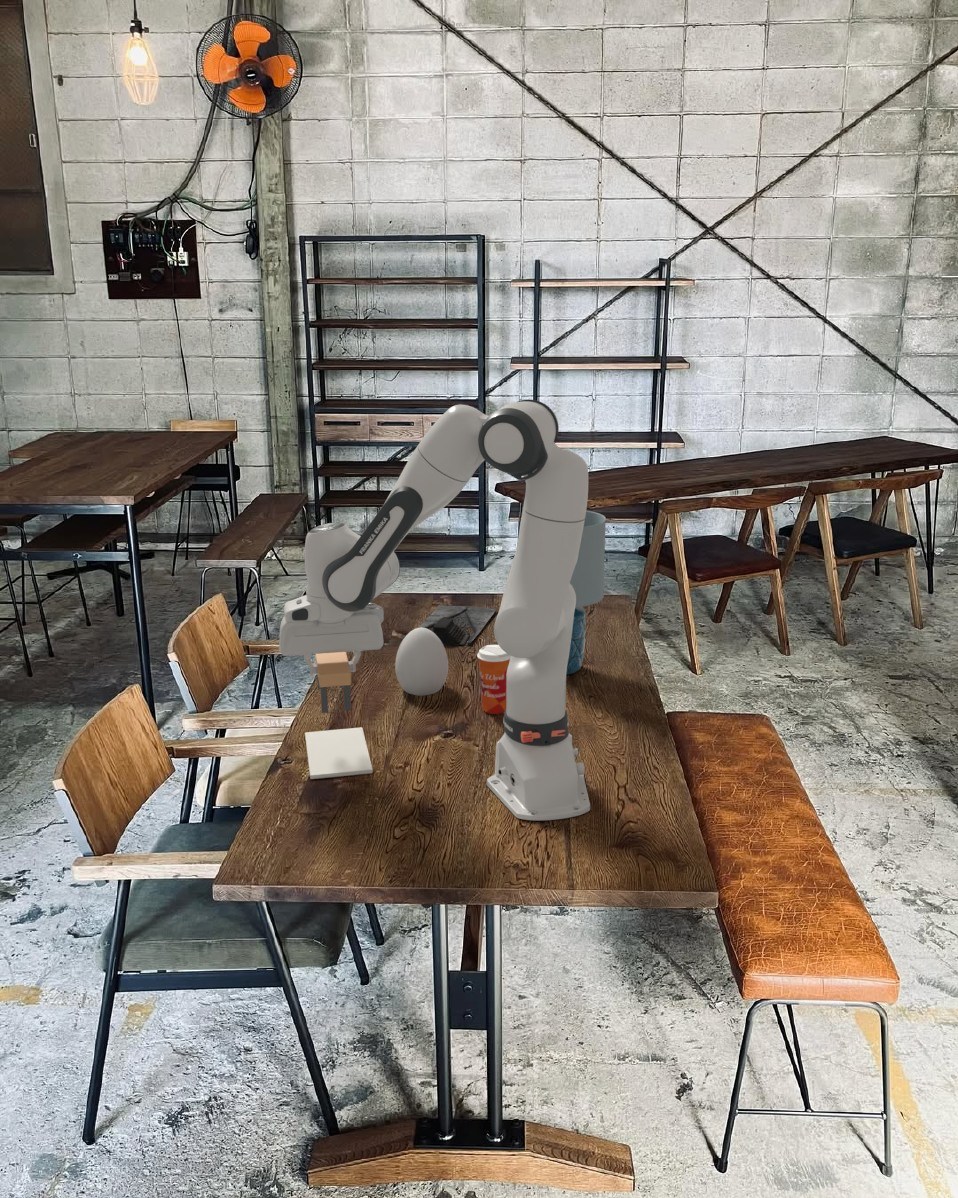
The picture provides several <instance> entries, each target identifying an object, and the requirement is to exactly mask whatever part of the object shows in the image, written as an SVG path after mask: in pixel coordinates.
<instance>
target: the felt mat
mask: <svg viewBox="0 0 958 1198" xmlns="http://www.w3.org/2000/svg"><path fill="white" fill-rule="evenodd" d="M304 737H305V745H306V746H305V747H306V753H307V762H308V770H309V777H310V778H309V779H310V780H315V779H317V780H318V779H325V778H326V779H327V778H338V777H344V776H345V777H346V776H355V775H357V776H358V775H367V774H368V775H369V774H373V772H374V769H373V766H372V762H371V757H370V753H369V749H368V745H367V742H366V738H365V733H364V729H363V727H362V726H361V727H353V728H351V727H350V728H340V729H329V730H319V731H318V730H317V731H316V730H315V731H308V732H304Z"/></svg>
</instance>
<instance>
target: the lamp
mask: <svg viewBox="0 0 958 1198" xmlns="http://www.w3.org/2000/svg"><path fill="white" fill-rule="evenodd" d="M606 519H607V518H606V516H605V515H603V514H601V513H599V512H595V511H591V510H586V515H585V521H584V527H583V532H582V538H581V543H580V549H579V554H578V560H577V563H576V566H575V568H574V571H573V574H572V577H571V581H570V584H571V585H572V587H573V589H574V591H575V594H576V606H575V611H574V618H573V628H572V637H571V645H570V652H569V658H568V664H567V672H566V676H567V675H572V674H575V673H577V672H579V670H580V669H581V668H582V666H583V662H584V654H585V644H586V610H585V608H583V607H587V606H592V605H595V604H597V603H599V602H601V601H602V600H603V599H604V588H605V587H604V584H605V583H604V582H605V556H606V555H605V553H606V525H607V524H606Z"/></svg>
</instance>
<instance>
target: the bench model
mask: <svg viewBox="0 0 958 1198" xmlns="http://www.w3.org/2000/svg"><path fill="white" fill-rule="evenodd" d="M314 657H315V659H314V661H315V664H317V668H318V670H317V671H318V674H316V676H317V690H320V702H321V703H320V705H321V707H320V708H321V714H325V713H326V714H327V713H329V702H328V701H329V700H328V698H329V697H328V688H329V687H330V688H331V687H339V688H340V689H341V688H343V707H344V712H349V711H350V712H351V711H352V702H351V701H352V700H351V699H352V697H351V686H352V672H351V671H350V667H349V663H348V661H349V659H348V655H347V652H335V653H321V654H314Z"/></svg>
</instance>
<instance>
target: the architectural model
mask: <svg viewBox="0 0 958 1198" xmlns="http://www.w3.org/2000/svg"><path fill="white" fill-rule="evenodd" d="M496 611H497V608H492V607H491V608H490V607H481V606H480V607H478V606H463V605H462V606H460V605H442V604H438V606H437V607H436V608H435V609H434V610H433V611H432V613H430V615H429V616H428V617H427V618H426V619H425V620H424V621H423V623H421V624H420V625H419V626H418V628H427V629H429V630H431V631H432V632H433V633H435V634H436V635H437V637H438V638H439V639H440V640H441V642H442V644H443V645H448V646H460V645H461V646H463V647H471V643H472V642H473V641H474V639H476V637H477V636H478V635H479V634H480V633H481V631H482V630H483V629H484V627H486V624H487V623H488V622H489V621H490V620H491V617H492V616H493V615H494V614H495V612H496ZM465 629H466V630H465ZM469 631H470V632H472V633H471V635H470V632H469ZM469 639H470V640H469ZM467 641H468V642H467Z"/></svg>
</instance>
